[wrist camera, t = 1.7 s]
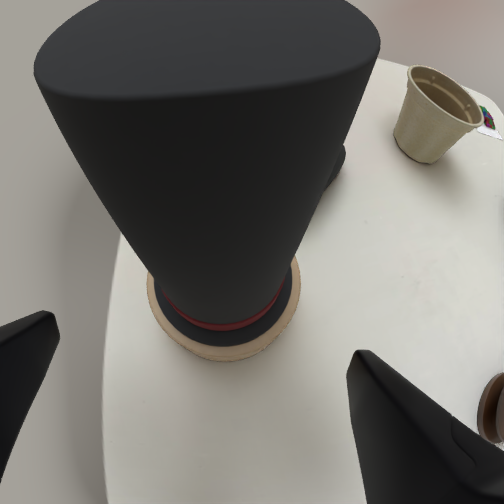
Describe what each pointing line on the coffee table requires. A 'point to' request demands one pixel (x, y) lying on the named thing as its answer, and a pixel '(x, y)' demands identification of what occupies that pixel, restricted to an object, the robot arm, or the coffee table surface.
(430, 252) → the coffee table surface
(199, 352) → the hat box
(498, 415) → the stand
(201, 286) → the top hat
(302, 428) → the coffee table surface
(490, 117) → the multicoloured piece
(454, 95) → the flower pot
